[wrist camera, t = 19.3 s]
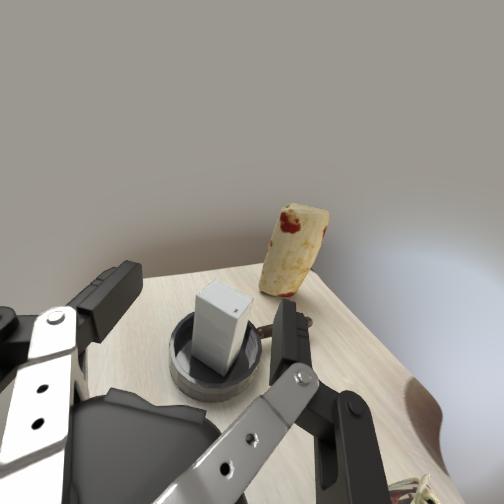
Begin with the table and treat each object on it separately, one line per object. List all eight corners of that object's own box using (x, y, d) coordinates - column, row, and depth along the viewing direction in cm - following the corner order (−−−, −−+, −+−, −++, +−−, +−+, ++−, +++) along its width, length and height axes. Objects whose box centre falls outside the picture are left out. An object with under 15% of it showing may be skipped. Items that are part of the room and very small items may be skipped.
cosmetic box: (239, 354, 35) (255, 298, 29) (223, 378, 32) (238, 320, 25) (207, 334, 37) (215, 277, 30) (189, 354, 33) (194, 295, 27)
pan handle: (256, 342, 35) (259, 335, 34) (252, 333, 37) (254, 325, 36) (312, 328, 40) (316, 321, 39) (306, 320, 41) (310, 313, 40)
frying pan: (175, 417, 27) (176, 403, 25) (165, 329, 37) (165, 314, 35) (270, 385, 33) (276, 371, 31) (239, 315, 42) (243, 301, 40)
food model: (259, 301, 46) (287, 209, 35) (253, 279, 51) (276, 194, 41) (303, 302, 48) (342, 216, 38) (294, 281, 54) (325, 201, 43)
